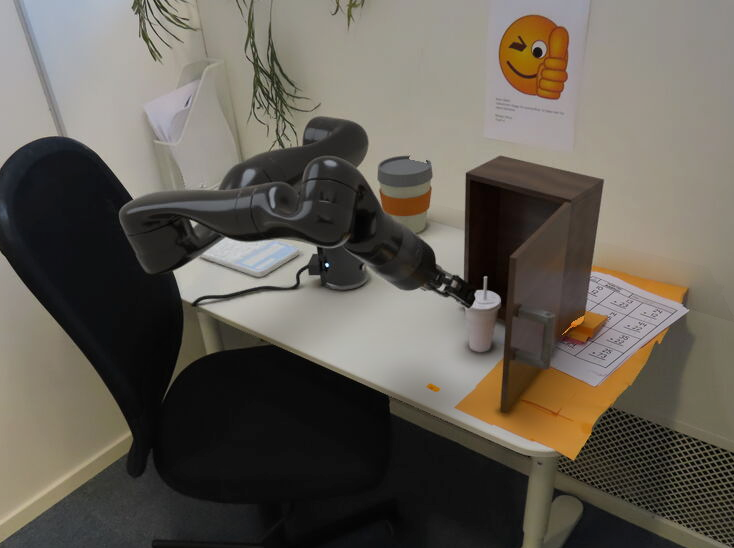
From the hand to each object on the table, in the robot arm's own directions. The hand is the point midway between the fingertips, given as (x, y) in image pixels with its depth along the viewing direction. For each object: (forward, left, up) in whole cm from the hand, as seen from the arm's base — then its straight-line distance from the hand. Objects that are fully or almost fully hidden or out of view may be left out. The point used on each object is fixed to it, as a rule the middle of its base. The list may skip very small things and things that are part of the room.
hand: (449, 293), depth 108 cm
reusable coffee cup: (-13, +56, -15) cm, 59 cm away
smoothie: (+5, +7, -15) cm, 17 cm away
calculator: (-47, +40, -15) cm, 64 cm away
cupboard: (+13, +18, -15) cm, 26 cm away
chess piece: (-63, +58, -15) cm, 87 cm away
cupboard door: (+16, -3, -15) cm, 22 cm away
